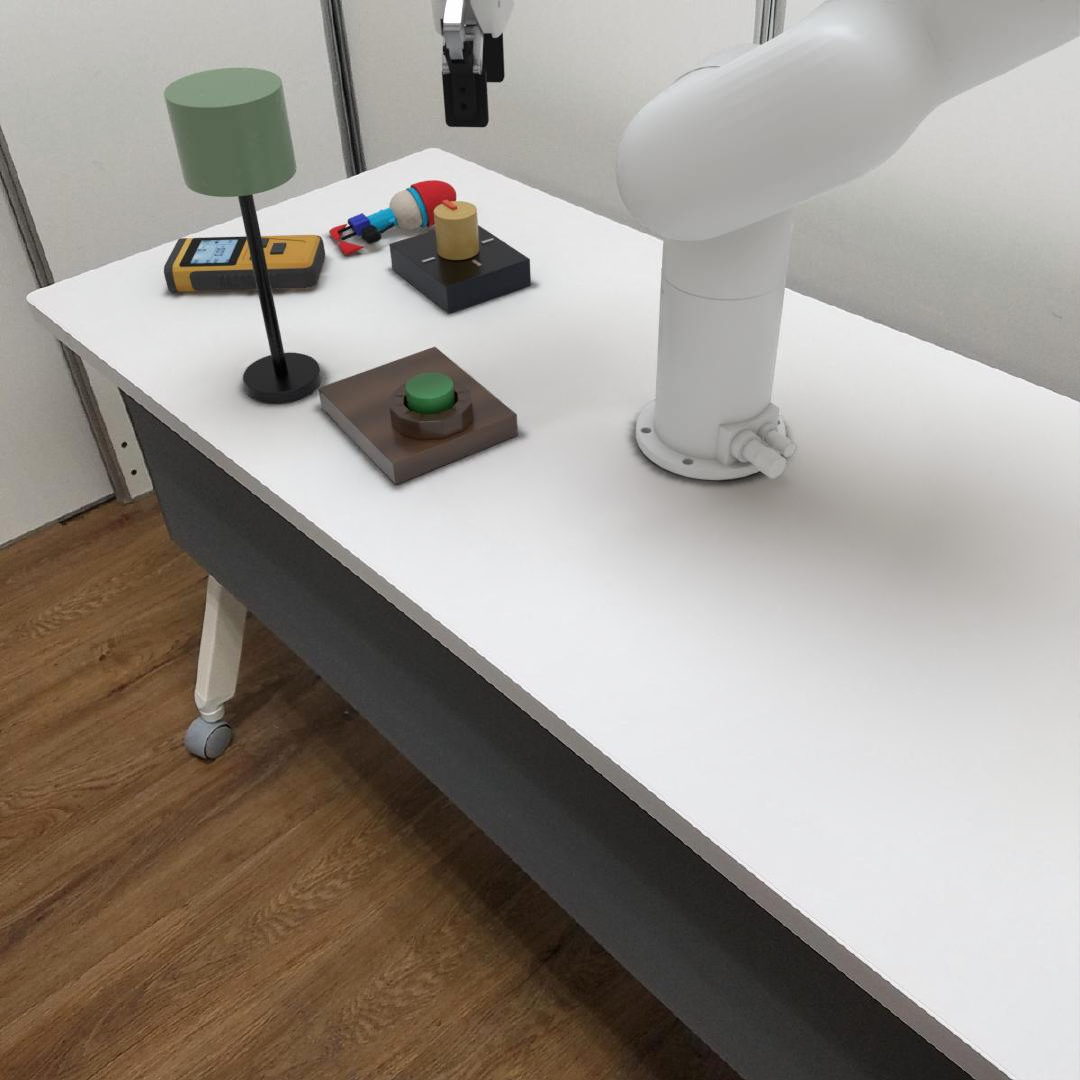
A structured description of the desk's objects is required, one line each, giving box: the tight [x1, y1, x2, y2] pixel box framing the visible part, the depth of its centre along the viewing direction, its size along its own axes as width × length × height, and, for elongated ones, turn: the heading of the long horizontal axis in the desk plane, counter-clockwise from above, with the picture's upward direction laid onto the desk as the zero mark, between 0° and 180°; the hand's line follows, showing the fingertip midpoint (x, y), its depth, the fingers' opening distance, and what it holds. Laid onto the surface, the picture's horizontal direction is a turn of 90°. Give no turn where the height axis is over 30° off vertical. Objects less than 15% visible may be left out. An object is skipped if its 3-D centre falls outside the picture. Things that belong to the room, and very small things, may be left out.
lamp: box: [163, 67, 322, 405], centre depth 97 cm, size 9×9×27 cm
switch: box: [405, 373, 455, 414], centre depth 95 cm, size 4×4×2 cm
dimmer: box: [434, 200, 479, 260], centre depth 117 cm, size 4×4×5 cm
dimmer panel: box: [388, 224, 532, 314], centre depth 119 cm, size 12×10×3 cm
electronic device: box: [163, 234, 326, 293], centre depth 121 cm, size 8×16×3 cm, turn 90°
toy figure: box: [328, 179, 458, 256], centre depth 128 cm, size 8×5×15 cm
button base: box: [317, 346, 519, 485], centre depth 99 cm, size 14×12×4 cm
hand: (476, 102), depth 89 cm, fingers open, 9 cm apart
